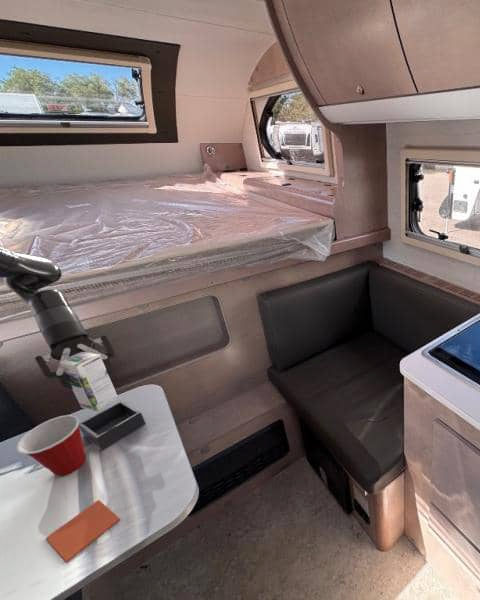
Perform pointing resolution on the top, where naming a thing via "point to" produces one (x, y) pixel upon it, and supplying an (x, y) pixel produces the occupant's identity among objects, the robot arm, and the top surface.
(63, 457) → the plastic cup
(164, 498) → the top surface
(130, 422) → the caddy
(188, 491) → the top surface
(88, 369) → the syrup box
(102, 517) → the mat
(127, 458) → the top surface
